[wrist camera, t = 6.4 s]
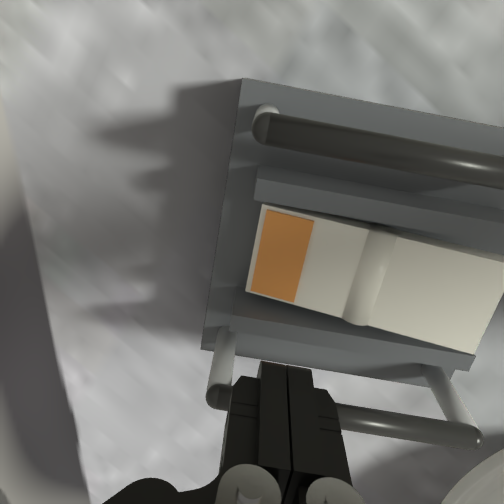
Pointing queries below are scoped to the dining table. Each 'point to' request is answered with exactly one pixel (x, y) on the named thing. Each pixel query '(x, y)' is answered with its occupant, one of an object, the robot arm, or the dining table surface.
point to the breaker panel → (358, 208)
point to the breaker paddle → (376, 275)
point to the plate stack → (481, 483)
